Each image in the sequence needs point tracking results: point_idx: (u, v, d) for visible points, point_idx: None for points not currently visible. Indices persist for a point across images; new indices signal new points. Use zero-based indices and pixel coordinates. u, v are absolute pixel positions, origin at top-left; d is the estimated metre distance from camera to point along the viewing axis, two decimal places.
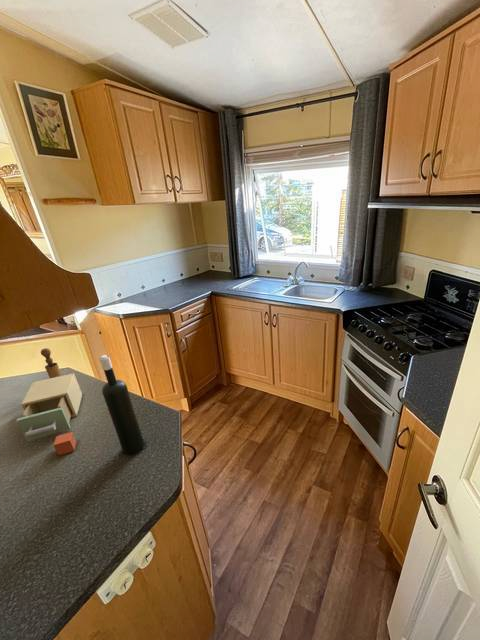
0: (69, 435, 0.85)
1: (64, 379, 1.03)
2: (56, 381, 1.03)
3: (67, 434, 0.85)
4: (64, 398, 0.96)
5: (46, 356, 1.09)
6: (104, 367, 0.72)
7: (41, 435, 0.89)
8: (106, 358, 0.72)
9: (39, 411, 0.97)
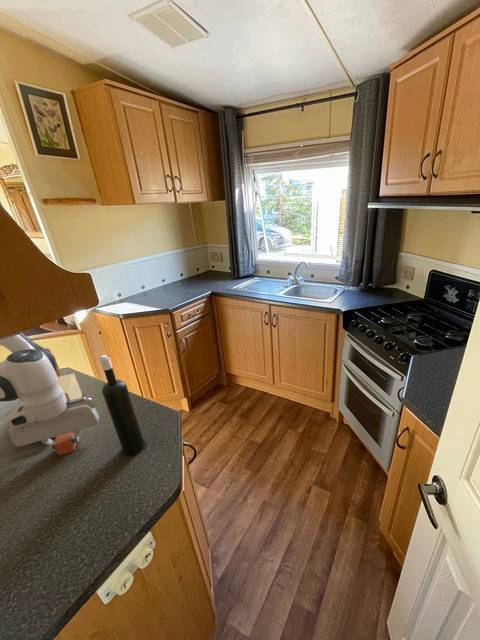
0: (69, 435, 0.85)
1: (64, 379, 1.03)
2: None
3: (67, 434, 0.85)
4: None
5: None
6: (104, 367, 0.72)
7: None
8: (106, 358, 0.72)
9: None
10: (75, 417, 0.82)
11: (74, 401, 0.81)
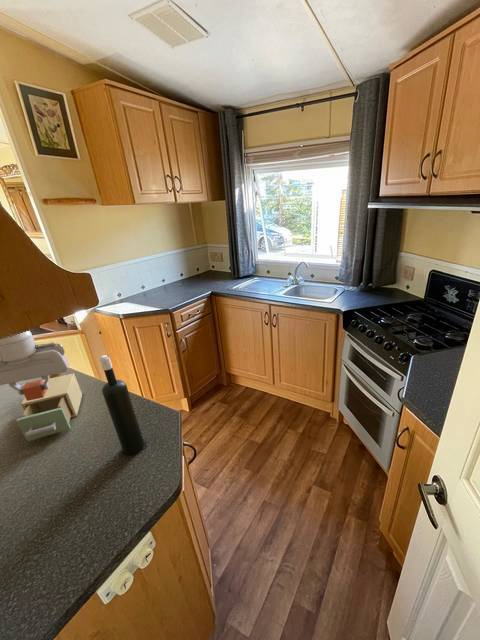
0: (39, 382, 0.85)
1: (64, 379, 1.03)
2: (56, 381, 1.03)
3: (37, 381, 0.85)
4: (64, 398, 0.96)
5: None
6: (104, 367, 0.72)
7: (41, 435, 0.89)
8: (106, 358, 0.72)
9: (39, 411, 0.97)
10: (44, 362, 0.81)
11: (43, 345, 0.81)
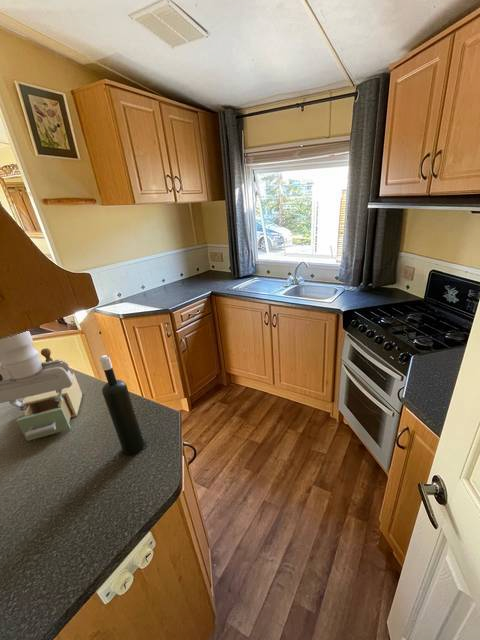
0: None
1: None
2: None
3: None
4: (64, 398, 0.96)
5: (46, 356, 1.09)
6: (104, 367, 0.72)
7: (41, 435, 0.89)
8: (106, 358, 0.72)
9: (39, 411, 0.97)
10: (50, 378, 0.87)
11: (49, 362, 0.87)
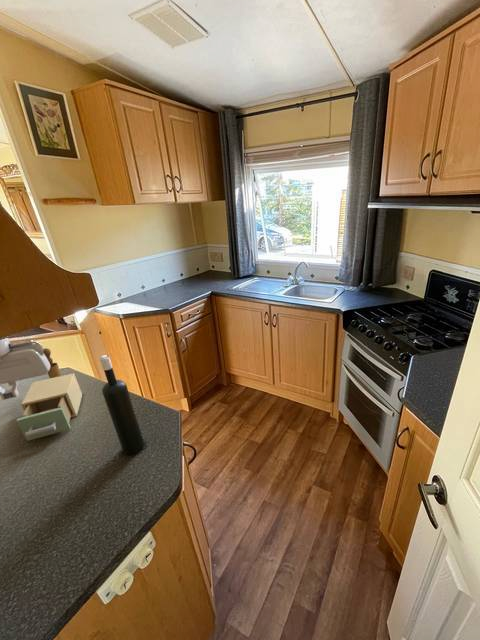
0: None
1: (64, 379, 1.03)
2: (56, 381, 1.03)
3: None
4: (64, 398, 0.96)
5: (46, 356, 1.09)
6: (104, 367, 0.72)
7: (41, 435, 0.89)
8: (106, 358, 0.72)
9: (39, 411, 0.97)
10: (20, 363, 0.71)
11: (18, 344, 0.70)
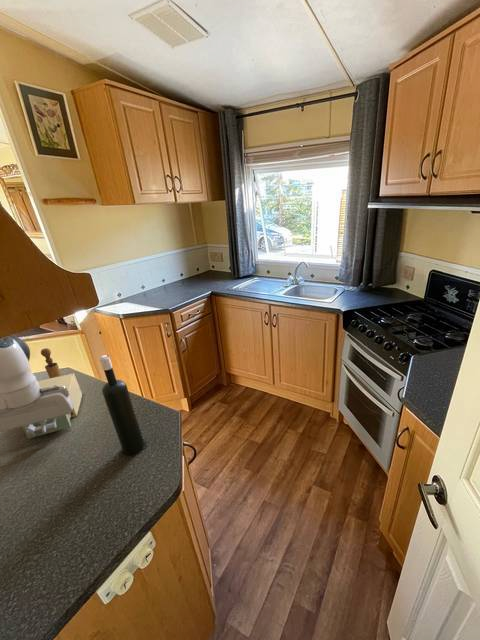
0: None
1: (64, 379, 1.03)
2: (56, 381, 1.03)
3: None
4: None
5: (46, 356, 1.09)
6: (104, 367, 0.72)
7: (42, 433, 0.90)
8: (106, 358, 0.72)
9: None
10: (49, 405, 0.82)
11: (48, 389, 0.81)
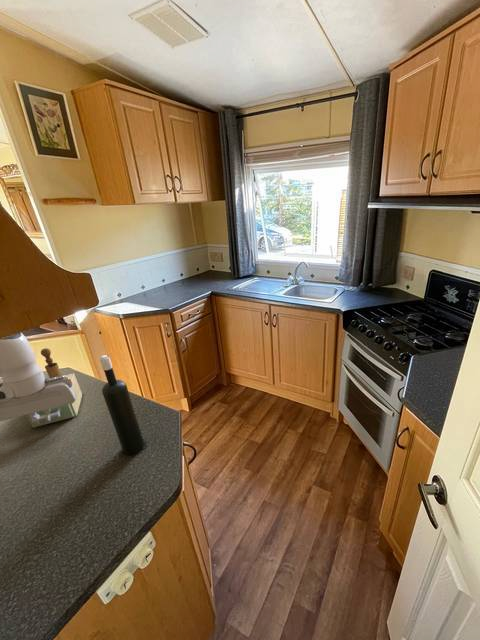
0: None
1: None
2: None
3: None
4: None
5: (46, 356, 1.09)
6: (104, 367, 0.72)
7: (46, 422, 0.95)
8: (106, 358, 0.72)
9: None
10: (53, 394, 0.87)
11: (52, 379, 0.86)
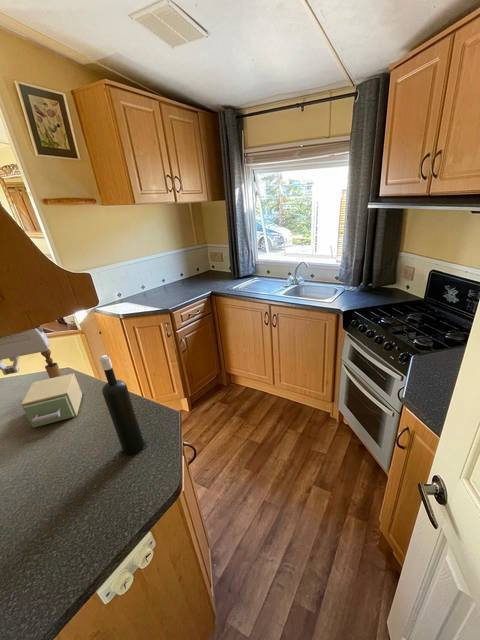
0: None
1: (64, 379, 1.03)
2: (56, 381, 1.03)
3: None
4: None
5: (46, 356, 1.09)
6: (104, 367, 0.72)
7: (46, 422, 0.95)
8: (106, 358, 0.72)
9: (44, 400, 1.03)
10: (20, 339, 0.74)
11: None
